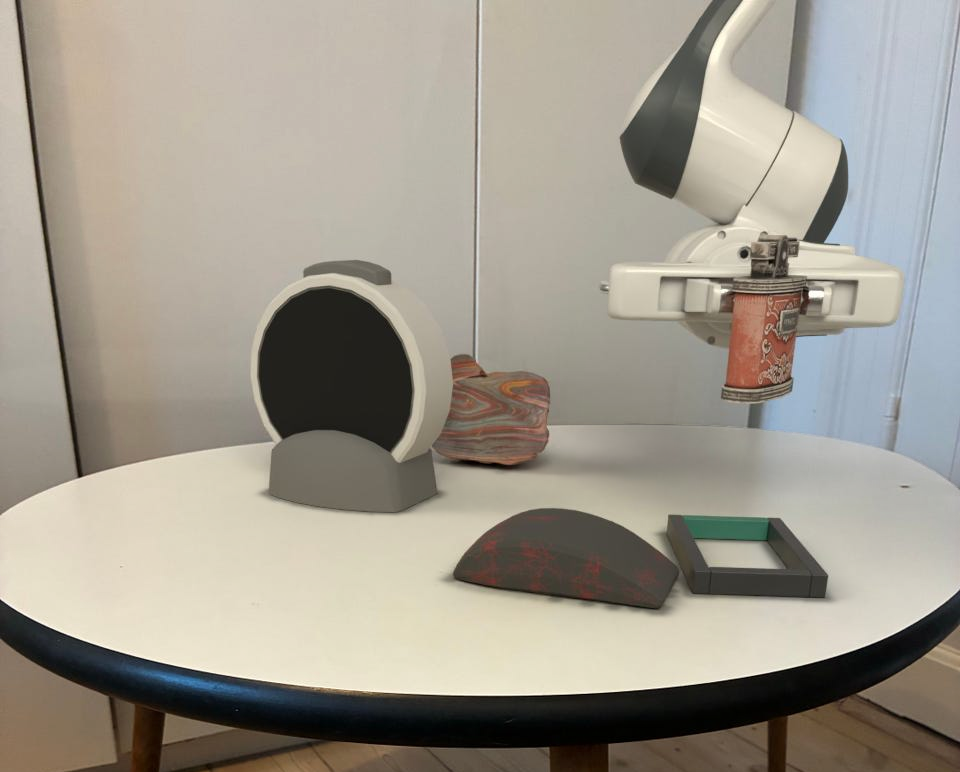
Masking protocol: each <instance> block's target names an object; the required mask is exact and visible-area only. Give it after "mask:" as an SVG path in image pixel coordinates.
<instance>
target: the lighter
mask: <svg viewBox="0 0 960 772" xmlns="http://www.w3.org/2000/svg"><path fill="white" fill-rule="evenodd" d="M799 245H800V241H797V238H794V237H787V235H760V236H759V238H758V241H757V242H752V243H751V252H750V259H751V274H750V276H743V277H737V278H733V288H732V291H734V292H735V299H734V309H733V318H732V327H731V337H730V346H729V349H728V356H727V367H726V375H725V382H724V383H723V384H722V385H721V393H720V400H721V401H723V402H727V403H733V404H746V405H747V404H749V405H751V404H761V403H766V402H770V401H775V400H778V399H782V398H784V397H786V396H787V395H788V396H789V395H790V394H791V393H792V392H793V387H794V380H795V379H794V377H793V376H792V372H793V364H794V357H795V356H794V355H795V349H796V341H797V337H796V334H797V326H798V319H799V311H800V303H801V296H802V289H803V286H806V281H807V276H800V275H788V270H789V263H788V258H795V257H798V253H799Z"/></svg>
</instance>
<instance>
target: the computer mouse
mask: <svg viewBox="0 0 960 772" xmlns="http://www.w3.org/2000/svg"><path fill="white" fill-rule="evenodd" d="M680 572H681V571H680V569H679V567H678V566H677V564H675V563H674V562H673V561H671V560H670V559H669V557H667V556H666V555H665V554H663V553H662V552H661V551H660V550H658V549H657V548H656V547H654V546H653V545H652V544H651V543H649V542H647V541H646V540H645V539H644V538H642V537H641V536H639V535H638V534H636V533H635V532H634V531H632V530H630V529H628V528H627V527H626V526H624V525H621V524H619V523H617V522H615V521H613V520H610V519H607V518H604V517H601V516H599V515H595V514H593V513H590V512H589V513H588V512H585V511H580V510H576V509H568V508H562V507H561V508H559V507H558V508H557V507H540V508H532V509H528V510H525V511H520V512H519V513H516V514H514V515H512V516H510V517H508V518H505V519H503V520H502V521H500V522H499V523H497V524H495V525H494V526H492V527H490V528H489V529H488V530H487V531H485V532H484V533H482V535H481V536H479V537H478V539H476V541H474V543H473V544H472V545H470V546H469V548H467V550H466V551H465V552H464V554H463V555H462V556H461V557H460V559H459V561H458V562H457V564H456V566H455V568H454V570H453V572H452V576H453V577H454V578H455V579H457V580H460V581H464V582H469V583H474V584H478V585H483V586H486V587H487V586H488V587H492V588H499V589H506V590H512V591H519V592H527V593H535V594H541V595H542V594H543V595H549V596H555V597H556V596H558V597H565V598H570V599H571V598H572V599H580V600H587V601H595V602H603V603H611V604H621V605H628V606H636V607H642V608H649V609H656V610H657V609H660V608H662V606H663V605H664V604H665V601H666V600H667V597H668V595H669V594H670V592H671V590H672V588H673V586H674V585H675V583H676V581H677V580H678V578H679V575H680Z"/></svg>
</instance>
